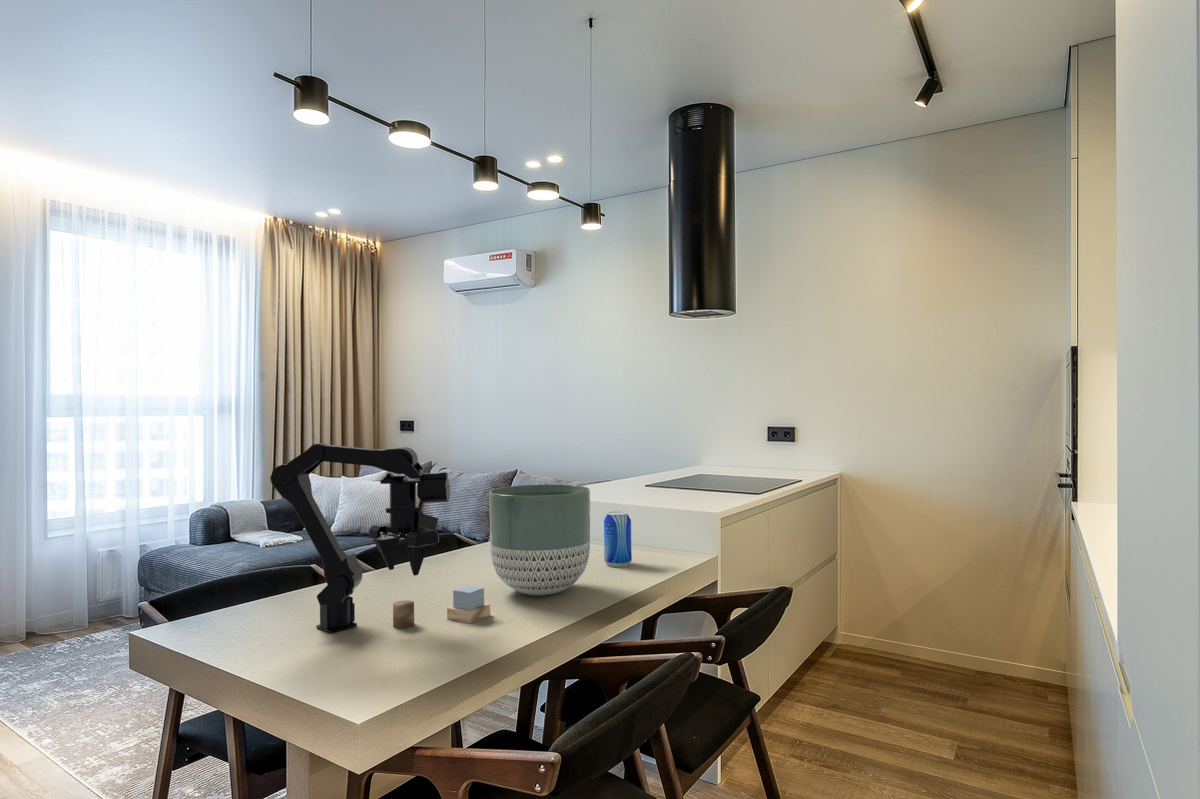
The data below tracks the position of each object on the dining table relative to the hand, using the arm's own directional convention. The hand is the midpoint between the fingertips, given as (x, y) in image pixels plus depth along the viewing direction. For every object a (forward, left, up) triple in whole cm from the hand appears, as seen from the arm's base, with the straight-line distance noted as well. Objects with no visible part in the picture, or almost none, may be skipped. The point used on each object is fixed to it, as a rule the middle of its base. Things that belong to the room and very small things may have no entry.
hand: (403, 572), depth 154 cm
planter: (+39, -5, -12) cm, 41 cm away
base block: (+13, -7, -12) cm, 19 cm away
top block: (+13, -7, -9) cm, 17 cm away
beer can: (+76, -2, -12) cm, 77 cm away
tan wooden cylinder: (0, 0, -12) cm, 12 cm away
